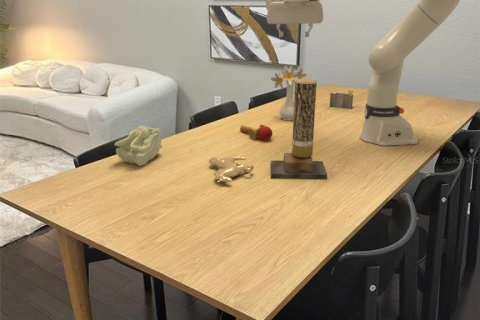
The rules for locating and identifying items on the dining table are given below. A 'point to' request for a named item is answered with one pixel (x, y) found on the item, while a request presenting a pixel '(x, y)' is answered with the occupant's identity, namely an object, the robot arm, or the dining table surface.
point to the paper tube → (304, 117)
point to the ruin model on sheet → (341, 100)
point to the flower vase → (288, 89)
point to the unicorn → (229, 168)
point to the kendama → (258, 132)
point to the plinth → (314, 175)
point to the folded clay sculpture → (139, 145)
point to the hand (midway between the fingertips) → (294, 36)
